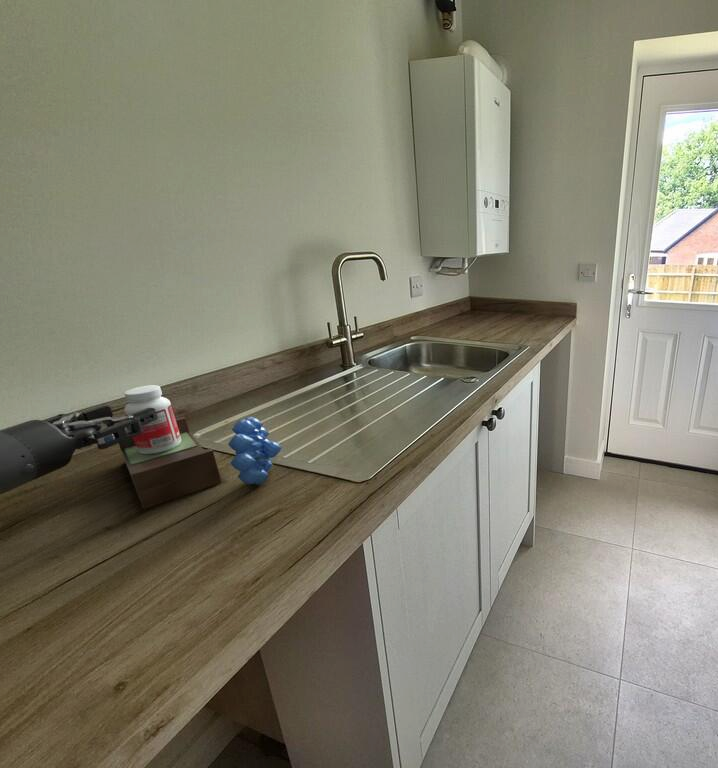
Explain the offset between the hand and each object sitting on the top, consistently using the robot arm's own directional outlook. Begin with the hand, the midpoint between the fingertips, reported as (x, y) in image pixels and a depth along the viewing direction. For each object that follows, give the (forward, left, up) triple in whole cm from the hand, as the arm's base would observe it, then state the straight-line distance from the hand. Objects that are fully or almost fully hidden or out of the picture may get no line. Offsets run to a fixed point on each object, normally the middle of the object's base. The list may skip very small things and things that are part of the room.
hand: (131, 411), depth 68 cm
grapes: (+12, -19, -11) cm, 26 cm away
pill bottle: (+2, +1, -8) cm, 9 cm away
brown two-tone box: (+2, -3, -11) cm, 12 cm away
